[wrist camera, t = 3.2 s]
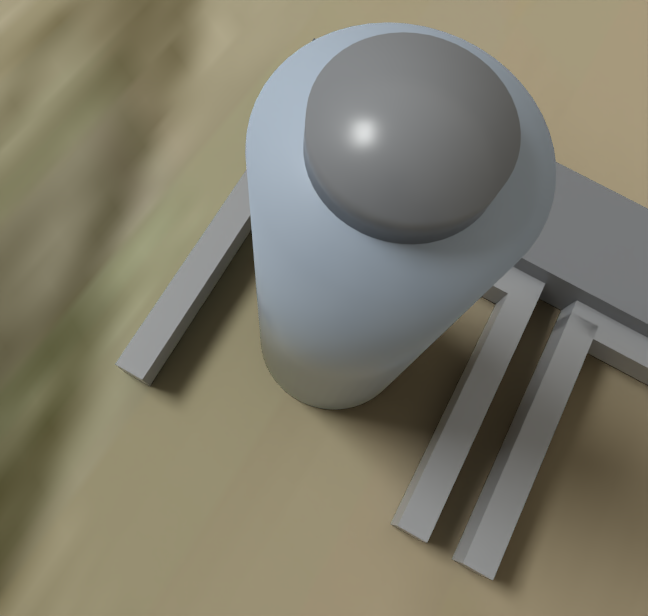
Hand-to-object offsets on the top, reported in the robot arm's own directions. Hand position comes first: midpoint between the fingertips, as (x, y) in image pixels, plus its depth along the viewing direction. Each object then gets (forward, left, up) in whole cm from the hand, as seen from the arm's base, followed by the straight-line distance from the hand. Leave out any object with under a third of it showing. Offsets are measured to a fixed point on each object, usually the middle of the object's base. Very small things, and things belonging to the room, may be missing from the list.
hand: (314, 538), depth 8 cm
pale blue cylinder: (+4, +5, -12) cm, 13 cm away
